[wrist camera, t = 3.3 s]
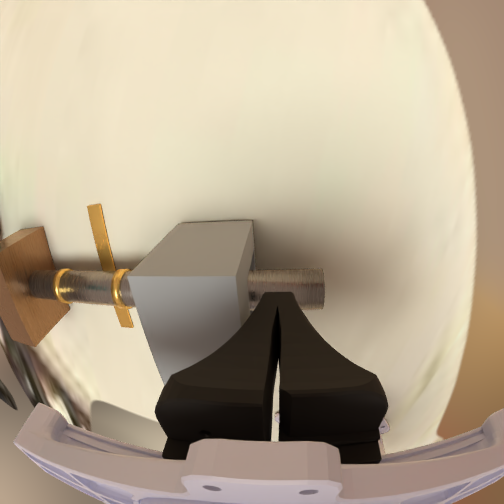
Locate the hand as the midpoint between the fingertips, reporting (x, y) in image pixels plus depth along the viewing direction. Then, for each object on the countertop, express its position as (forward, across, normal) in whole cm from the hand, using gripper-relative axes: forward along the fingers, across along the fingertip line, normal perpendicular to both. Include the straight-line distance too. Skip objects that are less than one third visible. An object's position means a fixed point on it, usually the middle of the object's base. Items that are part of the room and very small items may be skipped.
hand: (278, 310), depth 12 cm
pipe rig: (+4, +9, 0) cm, 10 cm away
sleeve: (+4, +3, 0) cm, 5 cm away
